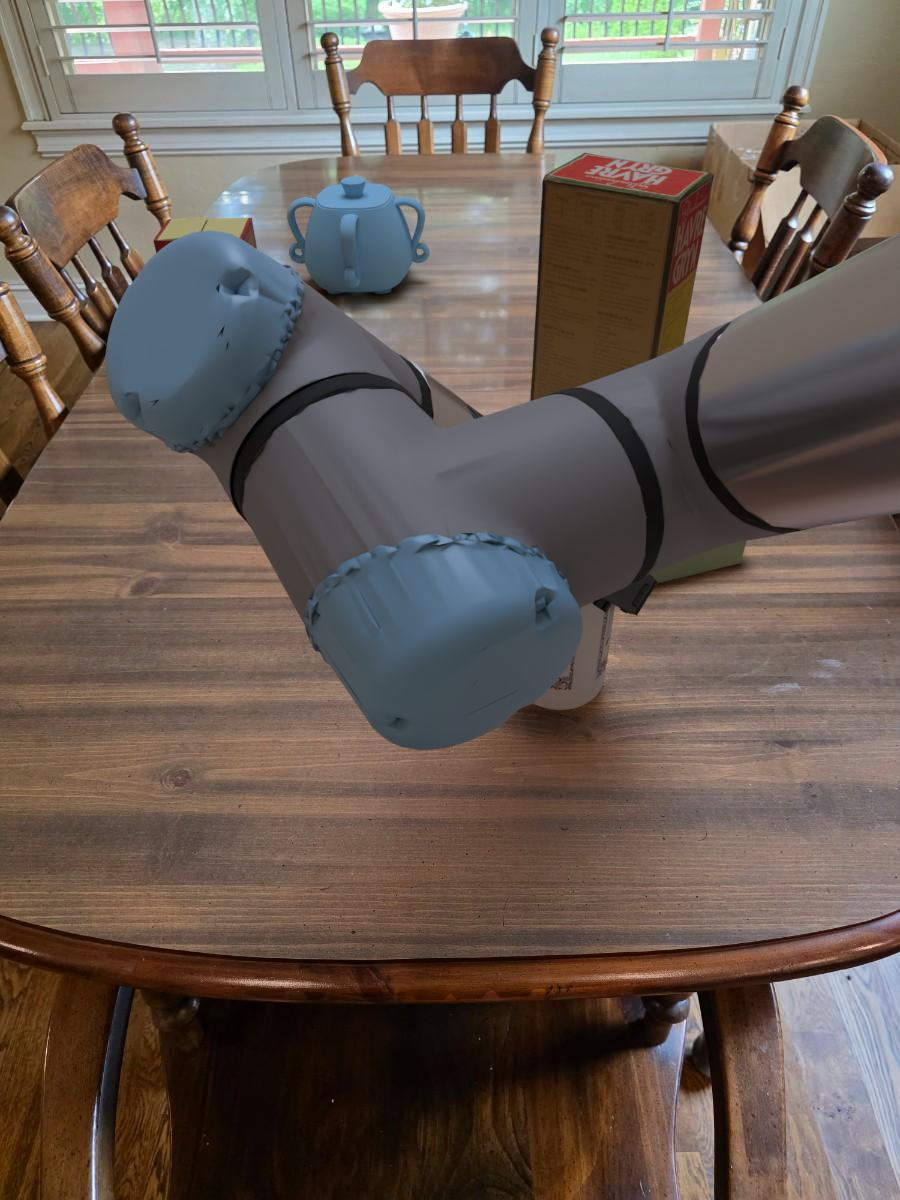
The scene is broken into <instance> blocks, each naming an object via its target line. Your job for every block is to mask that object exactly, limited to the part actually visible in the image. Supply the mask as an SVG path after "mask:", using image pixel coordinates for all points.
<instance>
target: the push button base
mask: <svg viewBox="0 0 900 1200" xmlns="http://www.w3.org/2000/svg"><path fill="white" fill-rule="evenodd" d="M746 545H747V541H742V542H736V543H731V544H728V545H724V546H720V547H717V548H714V549H711V550H709V551H706V552H703V553H700V554H698V555H696V556H693V557H691V558H689V559H686V560H684V561H681V562H679V563H676V564H674V565H672V566H669V567H667V568H664V569H662V570H659V571H657V572H655V573H652V574H651V576H652V577H654V579H655V580H657V581H658V582H657V584H656V585H658V584H661V583H665V582H669V581H673V580H677V579H682V578H686V577H690V576H694V575H699V574H701V573H706V572H711V571H715V570H718V569H722V568H727V567H730V566H731V567H732V566H734V565H739V564H741V562H742V559H743V555H744V552H745V548H746Z"/></svg>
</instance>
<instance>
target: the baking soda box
mask: <svg viewBox="0 0 900 1200" xmlns="http://www.w3.org/2000/svg"><path fill="white" fill-rule="evenodd" d="M209 230H210V231H219V232H226V233H229V234H232V235H234V236H236V237H238V238H240V239H242V240H243V241H245V242H246V243H248V244H249V245H251V246H252V247H254V248H256V249H257V250H258V247H257V241H256V234H255V228H254V222H253V217H214V218H213V217H210V218H209V215H206V216H192V217H180V218H168V219H167V220H166V221H165V222H164V224H163V226H162V227H161V228H160V230H159V231H158V233H157V234H156V236H155V237H154V239H153V240H152V241H153V245H154V249H155V254H156V253H157V252H158V251H160V250H161V249H162V248H163V247H165V246H166V245H168V244H169V243H171V242H172V241H174V240H176V239H178V238H180V237H182V236H184V235H187V234H190V233H193V232H199V231H209Z"/></svg>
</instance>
